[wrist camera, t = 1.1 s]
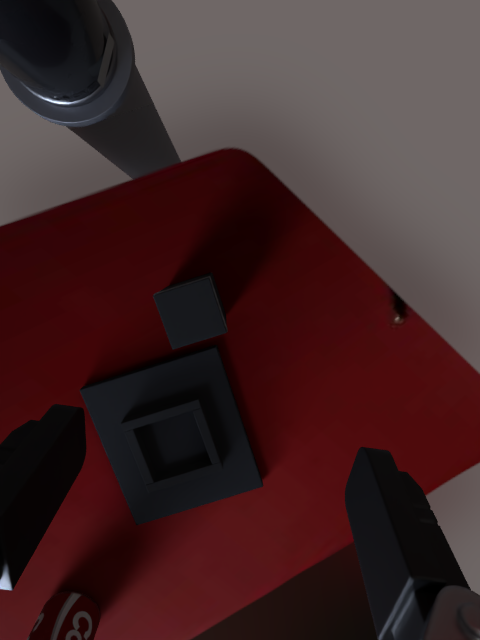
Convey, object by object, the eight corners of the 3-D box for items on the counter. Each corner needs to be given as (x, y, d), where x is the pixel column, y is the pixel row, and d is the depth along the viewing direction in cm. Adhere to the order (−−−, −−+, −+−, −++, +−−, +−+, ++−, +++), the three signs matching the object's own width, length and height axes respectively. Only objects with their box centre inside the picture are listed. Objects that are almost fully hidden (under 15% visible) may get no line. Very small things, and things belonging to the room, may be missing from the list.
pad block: (166, 285, 38) (152, 295, 30) (212, 271, 38) (209, 276, 30) (182, 330, 39) (172, 350, 31) (227, 316, 39) (227, 333, 31)
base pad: (82, 386, 39) (73, 395, 37) (216, 344, 39) (216, 350, 37) (138, 519, 43) (133, 535, 40) (262, 481, 42) (264, 495, 40)
